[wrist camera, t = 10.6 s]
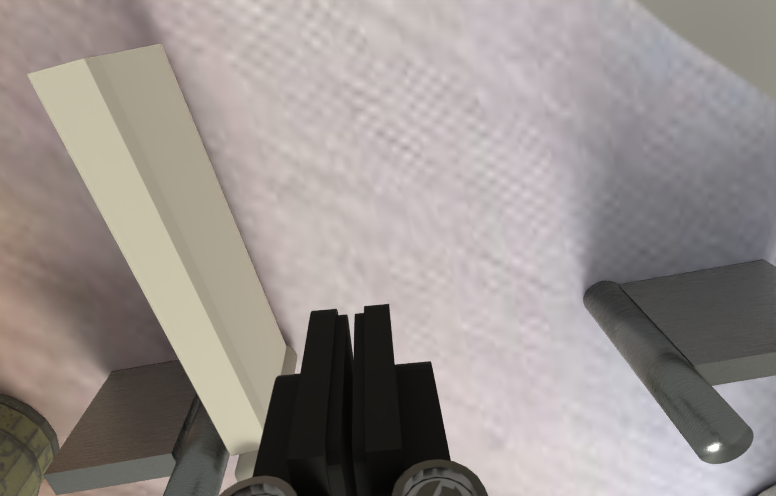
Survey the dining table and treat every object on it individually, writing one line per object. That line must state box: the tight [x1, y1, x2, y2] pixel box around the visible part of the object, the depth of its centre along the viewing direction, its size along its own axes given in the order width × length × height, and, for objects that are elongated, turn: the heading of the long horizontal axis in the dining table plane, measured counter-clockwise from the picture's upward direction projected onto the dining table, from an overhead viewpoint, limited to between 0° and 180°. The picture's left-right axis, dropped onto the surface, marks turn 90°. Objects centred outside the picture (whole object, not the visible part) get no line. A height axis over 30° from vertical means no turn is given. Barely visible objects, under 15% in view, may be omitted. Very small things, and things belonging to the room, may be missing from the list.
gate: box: [27, 43, 297, 482], centre depth 25 cm, size 20×2×9 cm, turn 14°
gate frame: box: [43, 260, 776, 496], centre depth 27 cm, size 42×2×12 cm, turn 99°
